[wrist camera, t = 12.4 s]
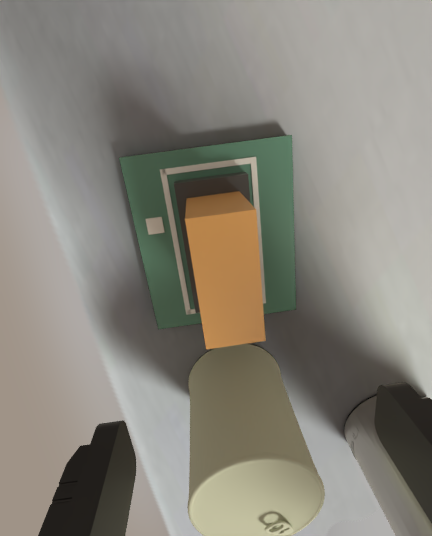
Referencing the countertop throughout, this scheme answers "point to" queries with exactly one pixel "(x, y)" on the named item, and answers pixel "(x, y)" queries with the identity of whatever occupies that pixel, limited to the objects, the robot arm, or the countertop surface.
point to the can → (247, 449)
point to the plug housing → (226, 268)
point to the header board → (270, 213)
